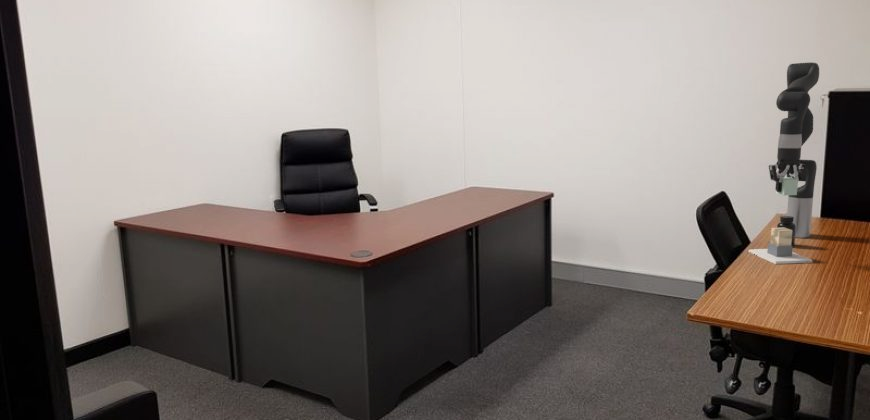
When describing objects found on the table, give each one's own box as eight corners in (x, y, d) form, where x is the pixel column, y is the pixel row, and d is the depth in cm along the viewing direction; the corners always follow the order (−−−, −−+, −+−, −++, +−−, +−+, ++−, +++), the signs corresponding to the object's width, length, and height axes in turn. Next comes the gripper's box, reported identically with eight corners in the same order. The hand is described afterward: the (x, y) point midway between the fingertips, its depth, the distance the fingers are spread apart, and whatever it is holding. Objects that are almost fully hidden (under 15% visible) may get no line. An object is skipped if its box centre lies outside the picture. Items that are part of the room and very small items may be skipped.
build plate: (748, 251, 245) (749, 239, 244) (782, 250, 246) (783, 238, 245) (775, 264, 227) (776, 250, 227) (812, 262, 228) (813, 249, 227)
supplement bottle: (790, 243, 257) (792, 215, 255) (797, 247, 250) (800, 218, 248) (772, 243, 258) (774, 215, 255) (780, 247, 251) (782, 218, 249)
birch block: (770, 243, 238) (771, 227, 237) (783, 242, 238) (784, 227, 237) (778, 246, 233) (779, 230, 232) (791, 245, 233) (792, 230, 232)
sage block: (775, 193, 234) (776, 177, 233) (788, 192, 234) (789, 177, 233) (783, 195, 229) (785, 179, 228) (796, 195, 229) (798, 179, 228)
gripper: (801, 145, 233) (797, 189, 236) (764, 146, 232) (761, 191, 235) (814, 146, 225) (810, 192, 228) (777, 147, 224) (773, 194, 228)
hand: (786, 191), depth 232 cm, fingers closed on sage block, 5 cm apart
